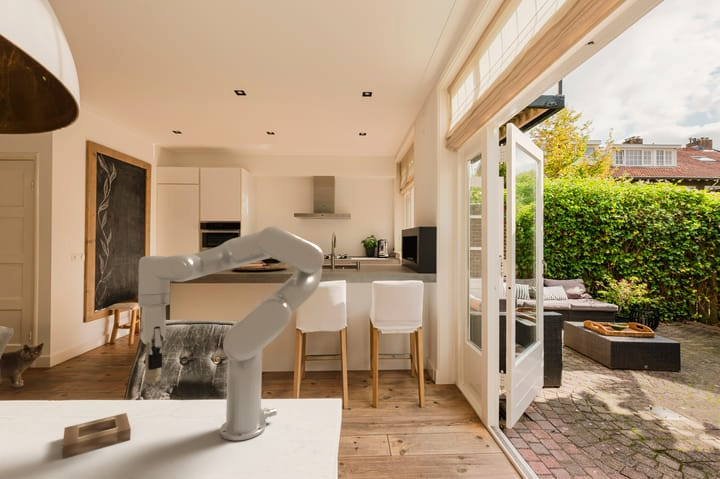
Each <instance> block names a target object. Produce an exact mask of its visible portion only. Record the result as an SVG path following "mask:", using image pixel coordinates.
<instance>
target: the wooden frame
mask: <svg viewBox="0 0 720 479" xmlns="http://www.w3.org/2000/svg"><path fill="white" fill-rule="evenodd" d="M63 432H64V433H63V441H62V448H61V449H62V450H61V452H62V453H61V459H62V460H65V459H68V458H72V457H75V456H78V455H82V454H85V453H89V452H93V451H96V450H99V449H103V448H107V447H110V446H113V445H117V444H120V443H124V442H128V441H130V440H131V434H132V433H131V432H132V431H131V425H130V421H129V418H128V414H127V412H123V413H121V414H120V413H119V414H117V415H112V416H107V417H104V418H100V419H99V418H98V419H96V420H95V419H94V420H91V421H87V422H83V423H78V424H74V425H69V426H66V427H64V430H63Z"/></svg>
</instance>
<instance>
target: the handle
mask: <svg viewBox="0 0 720 479" xmlns="http://www.w3.org/2000/svg"><path fill="white" fill-rule="evenodd" d="M167 329H168V328H167V325H166V331H167ZM142 332H143V329H142V328H141V327H140V334H141V333H142ZM153 342H155V341H154V340H152V343H153ZM145 345H146V347H145V356H144V357H145V360H144V368H145V369H144V371H145V372H144V373H145V377H146V378H145V380H146V383H148V384H156V383H158V382H160V380H161V378H162V377H161V375H162V374H161V373H162V367H161V368H158V369H153V370H149V369H148V355H150V350H149V343H147V344H145ZM153 346H154V345H152V347H153Z"/></svg>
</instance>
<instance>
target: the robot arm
mask: <svg viewBox="0 0 720 479" xmlns="http://www.w3.org/2000/svg"><path fill="white" fill-rule="evenodd" d="M270 258H273V259H275V260H277V261H279V262H281V263H283V264H284V265H285V264H286V265H287V266H290V267H292V268H295V270H294V273H292V275H291V276H290V277H289V278H288V279H287V280H286V281H285V282H284V283H283V284H282V285H280V286H279V287H278V288H277V289H276V290H274V291H273V292H272V293H271V294H269V295H268V296H266V297H265V298H263V299H262V300H261V302H260V303H259V305H258V306H257V307H256V308H254V309H252V311H251V312H250V313H248V314H247V316H245V317H244V318H241V319H239V320H237V321H236V322H234V324H232V325H231V326H230V328H229V330H228V331H227V332H226V334H225V336H224V338H223V343H222V345H223V346H222V348H223V352H224V354H225V355H226V357H227V373H226V375H227V377H226V378H227V380H226V411H225V412H226V415H225V416H226V419H225V422H224V423H223V424H222V425H221V426H220V427H219V429H220V430H219V434H220V436H221V438H223V439H225V440H229V441H244V440H248V439H252V438H254V437H257V436H258V435H261V434H262V433H263V432H264V431H265V429H266V427H267V421H266V420H267V418H271V417H274V416H277V412H278V411H277V409H276V408H275V407H274V408H271V409H270V407H265V408H262V375H263V374H262V373H263V370H262V369H263V349H264V348H265V347H266V346H267V345H268V344H270V343H271V342H272V341H273V340H274V339H275V338H277V337H278V336H279V335H280V334H281V333H282V332H283V331H284V330H285V329H286V327H287V326H288V325H289V323H290V322H291V318H292V315H293V314H294V313H295V311H297V310H298V309H299V308H300V307H301V306H302V305H303V304H304V303H305V302H306V301H308V300H309V298H310V297H311V296H312V295H313V294H314V293H315V292H316V291H317V289H318V287H319V284H320V283H321V280H322V273H323V265H324V262H325V254H324V252H323V250H322V248H320V247H319V246H318V245H317V244H314V243H312V242H310V241H308V240H306V239H304V238H302V237H300V236H297V235H295V234H293V233H292V232H289V231H288V230H286V229H284V228H282V227H279V226H277V225H276V226H275V225H272V226H271V225H269V226H267V227H265V228H263V229H262V230H259V231H256V232H252V233H248V234H247V235H243V236H242V235H241V236H238V237H235V238H231V239H228V240H226V241H224V242H223V243H222V244H220V245H218V246H216V247H215V246H214V247H213V248H209V249H206V250H203V251H199V252H194V253H192V254H176V255H170V256H165V255H149V256H148V255H147V256H142V257H140V259H139V261H138V300H137V301H138V302H137V303H138V304H137V305H138V308H141V317H140V329H141V328H142V329H143V332H142V333H141V332H140V333H139V334H140V340H141V342H142V343H143V344H144V345H146V344H147V343H149V350H150V355H148V369H149V370H153V369H158V368H161V369H162V368H163V351H162V350H163V349H162V348H163V345H162V343H163V342H164V341H165V340H166V331H167V330H166V326H167V325H166V323H167V320H166V319H167V318H166V317H167V316H166V314H167V312H166V306H168V305H170V304H171V282H178V283H179V282H186V281H190V280H192V281H193V280H196V279H198V278H201V277H205V276H208V275H211V274H215V273H218V272H222V271H225V270H232V269H236V268H237V269H238V268H240V267H243V266H247V265H250V264H254V263H257V262H259V261H263V260H267V259H270ZM152 340H154V341H155V342H153V343H152ZM152 345H154V346H153V347H152Z"/></svg>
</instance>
